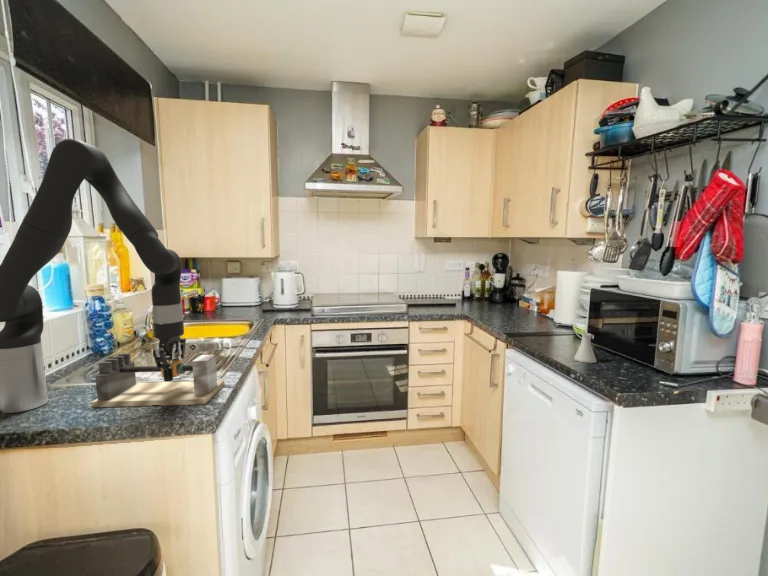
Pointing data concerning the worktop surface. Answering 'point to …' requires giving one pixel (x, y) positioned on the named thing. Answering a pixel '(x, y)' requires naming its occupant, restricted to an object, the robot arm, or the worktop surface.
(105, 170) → the robot arm
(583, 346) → the flask
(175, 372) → the sleeve
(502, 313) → the worktop surface
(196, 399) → the cord board
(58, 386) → the worktop surface
